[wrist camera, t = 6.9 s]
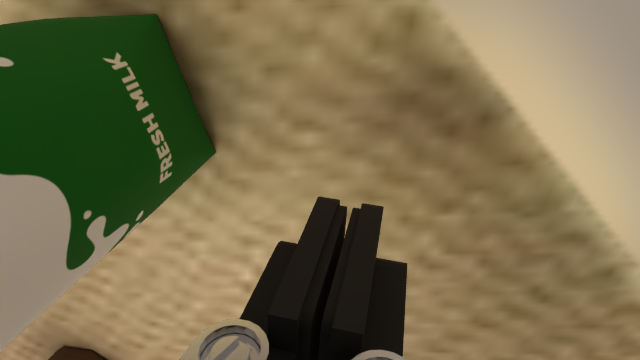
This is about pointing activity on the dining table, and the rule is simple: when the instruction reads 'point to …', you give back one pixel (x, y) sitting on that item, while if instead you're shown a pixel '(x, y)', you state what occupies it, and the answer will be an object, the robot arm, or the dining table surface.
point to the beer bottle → (75, 354)
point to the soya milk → (84, 149)
